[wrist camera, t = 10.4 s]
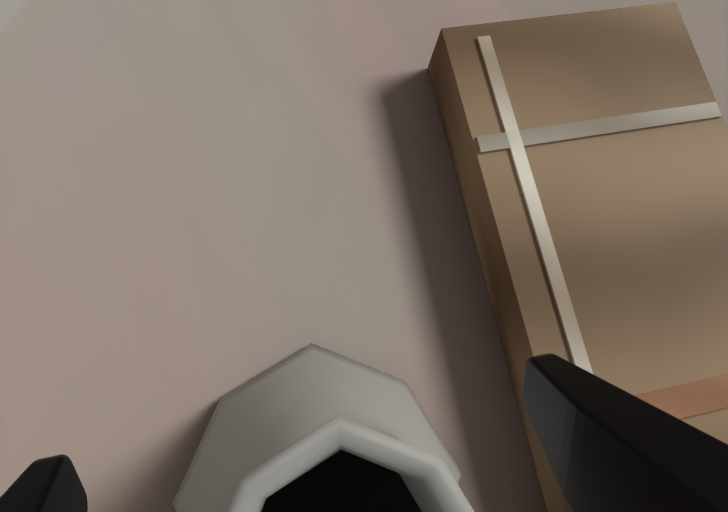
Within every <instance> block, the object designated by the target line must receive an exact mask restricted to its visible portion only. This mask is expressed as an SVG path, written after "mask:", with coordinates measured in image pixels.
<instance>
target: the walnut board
mask: <svg viewBox="0 0 728 512" xmlns="http://www.w3.org/2000/svg"><path fill="white" fill-rule="evenodd" d="M428 69H429V73H430V77H431V81H432V84H433V88H434V92H435V95H436V99H437V103H438V107H439V110H440V114H441V118H442V121H443V125H444V129H445V133H446V136H447V140H448V144H449V148H450V151H451V155H452V159H453V162H454V166H455V170H456V174H457V177H458V181H459V185H460V188H461V192H462V196H463V200H464V203H465V207H466V211H467V215H468V218H469V222H470V226H471V229H472V233H473V237H474V241H475V244H476V248H477V252H478V255H479V259H480V263H481V267H482V270H483V274H484V278H485V282H486V285H487V289H488V293H489V296H490V300H491V304H492V308H493V311H494V315H495V319H496V322H497V326H498V330H499V334H500V337H501V341H502V345H503V349H504V352H505V356H506V360H507V363H508V367H509V371H510V375H511V378H512V382H513V386H514V389H515V393H516V397H517V401H518V404H519V408H520V412H521V416H522V419H523V423H524V427H525V430H526V434H527V438H528V442H529V445H530V449H531V453H532V456H533V460H534V464H535V468H536V471H537V475H538V479H539V483H540V486H541V490H542V494H543V497H544V501H545V505H546V509H547V512H572V510H571V508H570V506H569V504H568V503H567V501H566V499H565V497H564V495H563V493H562V491H561V489H560V487H559V485H558V483H557V480H556V478H555V476H554V474H553V471H552V469H551V467H550V465H549V462H548V460H547V458H546V456H545V454H544V451H543V449H542V447H541V445H540V442H539V440H538V438H537V436H536V433H535V431H534V429H533V427H532V424H531V422H530V420H529V418H528V415H527V413H526V411H525V408H524V404H523V398H522V394H523V382H524V370H525V363H526V360H527V359H528V358H530V357H532V356H537V355H542V354H547V353H552V354H555V355H557V356H559V357H561V358H563V359H565V360H567V361H569V362H571V363H573V364H575V365H577V366H578V367H580V368H582V369H584V370H586V371H588V372H590V373H592V374H594V375H596V376H598V377H600V378H601V379H603V380H605V381H607V382H609V383H611V384H613V385H615V386H617V387H619V388H621V389H623V390H624V391H626V392H628V393H630V394H632V395H634V396H636V397H638V398H640V399H642V400H644V401H646V402H647V403H649V404H651V405H653V406H655V407H657V408H659V409H661V410H663V411H665V412H667V413H669V414H671V415H672V416H674V417H676V418H678V419H680V420H682V421H684V422H686V423H688V424H690V425H692V426H694V427H695V428H697V429H699V430H701V431H703V432H705V433H707V434H709V435H711V436H713V437H715V438H717V439H718V440H720V441H722V442H724V443H726V444H728V130H727V127H726V125H725V122H724V120H723V117H722V115H721V112H720V110H719V107H718V105H717V103H716V100H715V98H714V95H713V93H712V90H711V88H710V85H709V83H708V80H707V78H706V76H705V73H704V71H703V68H702V66H701V63H700V61H699V58H698V56H697V54H696V51H695V49H694V46H693V44H692V41H691V39H690V36H689V34H688V31H687V29H686V27H685V24H684V22H683V19H682V17H681V14H680V12H679V9H678V7H677V4H676V2H671V3H662V4H654V5H645V6H636V7H627V8H618V9H609V10H601V11H592V12H583V13H574V14H565V15H557V16H548V17H539V18H530V19H521V20H513V21H504V22H495V23H486V24H477V25H469V26H460V27H451V28H442V29H441V31H440V34H439V37H438V40H437V43H436V46H435V48H434V51H433V54H432V57H431V60H430V63H429V66H428Z"/></svg>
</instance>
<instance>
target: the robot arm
mask: <svg viewBox="0 0 728 512" xmlns="http://www.w3.org/2000/svg"><path fill="white" fill-rule="evenodd" d="M522 398H523V404H524V408H525V411H526V413H527V415H528V418H529V420H530V422H531V424H532V427H533V429H534V431H535V433H536V436H537V438H538V440H539V442H540V445H541V447H542V449H543V451H544V454H545V456H546V458H547V460H548V462H549V465H550V467H551V469H552V471H553V474H554V476H555V478H556V480H557V483H558V485H559V487H560V489H561V491H562V493H563V495H564V497H565V499H566V501H567V503H568V504H569V506H570V508H571V510H572V512H728V444H726V443H724V442H722V441H720V440H718V439H717V438H715V437H713V436H711V435H709V434H707V433H705V432H703V431H701V430H699V429H697V428H695V427H694V426H692V425H690V424H688V423H686V422H684V421H682V420H680V419H678V418H676V417H674V416H672V415H671V414H669V413H667V412H665V411H663V410H661V409H659V408H657V407H655V406H653V405H651V404H649V403H647V402H646V401H644V400H642V399H640V398H638V397H636V396H634V395H632V394H630V393H628V392H626V391H624V390H623V389H621V388H619V387H617V386H615V385H613V384H611V383H609V382H607V381H605V380H603V379H601V378H600V377H598V376H596V375H594V374H592V373H590V372H588V371H586V370H584V369H582V368H580V367H578V366H577V365H575V364H573V363H571V362H569V361H567V360H565V359H563V358H561V357H559V356H557V355H555V354H552V353H547V354H542V355H537V356H532V357H530V358H528V359H527V360H526V363H525V370H524V382H523V394H522ZM87 510H88V504H87V496H86V492H85V490H84V488H83V485H82V483H81V481H80V479H79V477H78V474H77V472H76V470H75V468H74V466H73V464H72V461H71V460H70V458H69V457H68V456H66V455H57V456H52V457H47V458H42V459H38V460H36V461H34V462H33V463H32V464H31V465H30V466H29V467H28V468H27V469H26V470H25V471H24V472H23V473H22V474H21V475H20V476H19V478H18V479H17V480H16V481H15V482H14V483H13V484H12V485H11V486H10V487H9V488H8V490H7V491H6V492H5V493H4V494H3V495H2V496H1V497H0V512H87Z"/></svg>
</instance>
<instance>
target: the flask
mask: <svg viewBox="0 0 728 512" xmlns="http://www.w3.org/2000/svg"><path fill="white" fill-rule="evenodd" d="M461 475H462V472H461V470H460V469H459V467H458V466H457V464H456V462H455V461H454V459H453V458H452V456H451V454H450V453H449V451H448V449H447V448H446V446H445V445H444V443H443V441H442V440H441V438H440V436H439V435H438V433H437V432H436V430H435V428H434V427H433V425H432V423H431V422H430V420H429V419H428V417H427V415H426V414H425V412H424V410H423V409H422V407H421V406H420V404H419V402H418V401H417V399H416V397H415V396H414V394H413V393H412V391H411V389H410V388H409V386H408V384H407V383H406V381H403V380H401V379H398V378H396V377H393V376H391V375H388V374H386V373H383V372H381V371H379V370H376V369H374V368H371V367H369V366H366V365H364V364H361V363H359V362H357V361H354V360H352V359H349V358H347V357H344V356H342V355H339V354H337V353H335V352H332V351H330V350H327V349H325V348H322V347H320V346H317V345H315V344H312V343H311V344H310V345H308V346H306V347H305V348H303V349H301V350H300V351H298V352H296V353H294V354H293V355H291V356H289V357H288V358H286V359H284V360H283V361H281V362H279V363H278V364H276V365H274V366H273V367H271V368H269V369H268V370H266V371H264V372H263V373H261V374H259V375H258V376H256V377H254V378H252V379H251V380H249V381H247V382H246V383H244V384H242V385H241V386H239V387H237V388H236V389H234V390H232V391H231V392H229V393H227V394H226V395H224V396H222V397H221V398H220V399H219V402H218V404H217V406H216V408H215V410H214V413H213V415H212V417H211V419H210V421H209V424H208V426H207V428H206V430H205V432H204V435H203V437H202V439H201V441H200V443H199V446H198V448H197V450H196V452H195V454H194V457H193V459H192V461H191V463H190V465H189V468H188V470H187V472H186V474H185V476H184V479H183V481H182V483H181V485H180V487H179V490H178V492H177V494H176V496H175V498H174V501H173V503H172V505H173V507H174V509H175V511H176V512H474V510H473V509H472V507H471V505H470V504H469V502H468V500H467V499H466V497H465V496H464V494H463V492H462V491H461V489H460V487H459V486H458V484H459V481H460V478H461Z"/></svg>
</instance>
